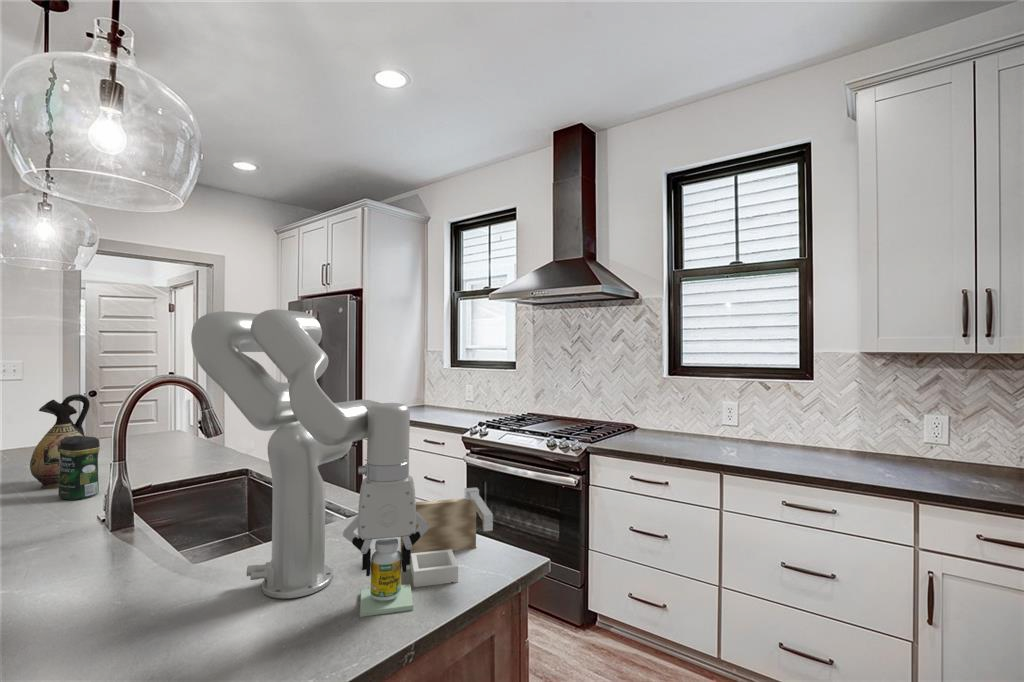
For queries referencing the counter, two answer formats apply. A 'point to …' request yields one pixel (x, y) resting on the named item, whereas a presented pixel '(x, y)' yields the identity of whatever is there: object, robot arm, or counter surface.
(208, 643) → the counter surface
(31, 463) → the ceramic jug
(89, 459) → the coffee jar
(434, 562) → the hollow square frame
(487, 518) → the bar
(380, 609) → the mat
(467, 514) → the wooden block
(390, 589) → the supplement bottle
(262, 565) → the robot arm
